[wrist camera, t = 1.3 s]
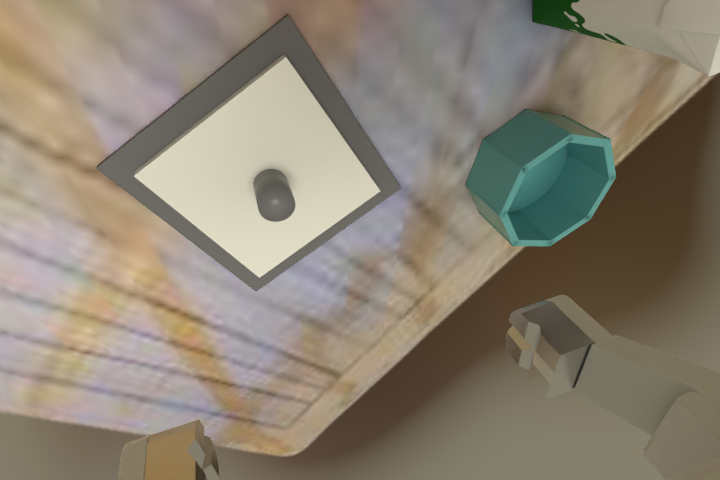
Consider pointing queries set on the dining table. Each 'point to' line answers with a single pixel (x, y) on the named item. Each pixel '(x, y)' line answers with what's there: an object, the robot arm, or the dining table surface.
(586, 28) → the milk carton
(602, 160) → the teal octagonal bowl
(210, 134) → the cover board
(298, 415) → the dining table surface
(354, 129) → the rubber mat
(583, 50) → the dining table surface
